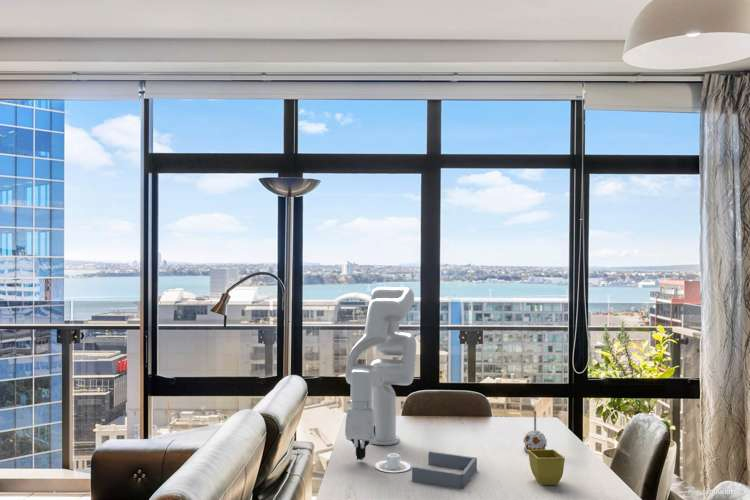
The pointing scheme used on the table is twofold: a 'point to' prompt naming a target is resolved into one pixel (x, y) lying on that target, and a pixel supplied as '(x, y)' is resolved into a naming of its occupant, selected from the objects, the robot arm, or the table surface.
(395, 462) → the candle holder
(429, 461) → the box
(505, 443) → the table surface
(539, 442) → the decorative ornament
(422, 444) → the table surface
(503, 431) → the table surface
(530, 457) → the flower pot
